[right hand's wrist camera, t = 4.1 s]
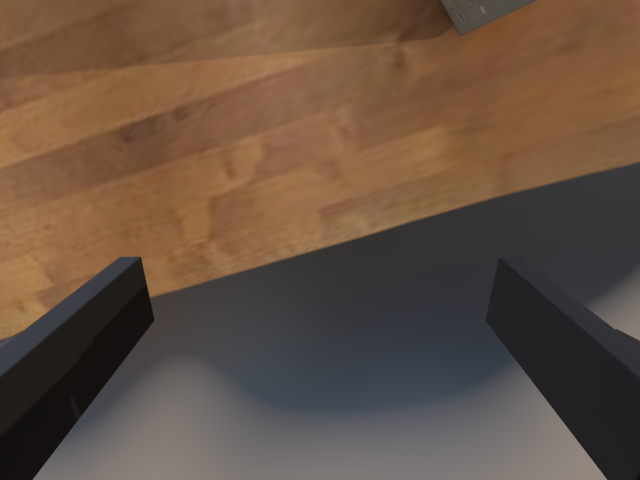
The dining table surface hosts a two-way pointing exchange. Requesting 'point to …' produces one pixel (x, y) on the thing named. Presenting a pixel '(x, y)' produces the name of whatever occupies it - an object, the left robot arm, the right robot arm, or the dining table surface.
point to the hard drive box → (479, 11)
